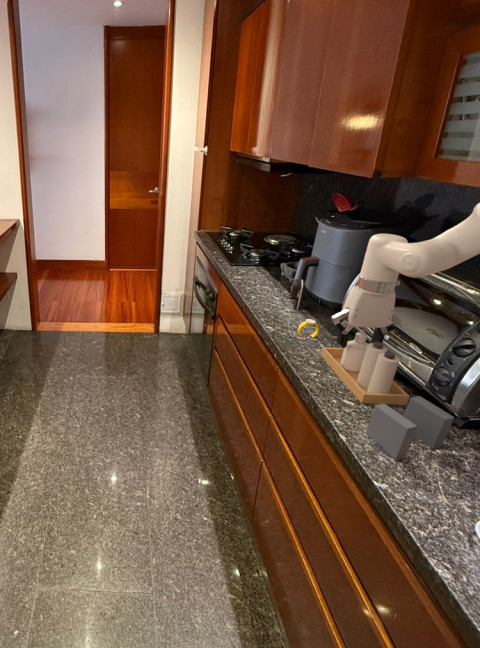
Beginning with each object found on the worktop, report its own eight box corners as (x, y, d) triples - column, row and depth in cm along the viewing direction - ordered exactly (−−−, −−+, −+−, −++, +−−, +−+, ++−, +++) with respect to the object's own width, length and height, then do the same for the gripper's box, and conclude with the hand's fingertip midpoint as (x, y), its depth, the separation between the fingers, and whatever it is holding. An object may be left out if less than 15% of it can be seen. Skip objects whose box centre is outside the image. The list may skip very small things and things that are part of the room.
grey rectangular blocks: (408, 425, 86) (419, 395, 83) (441, 448, 80) (454, 417, 76) (364, 435, 83) (374, 405, 80) (395, 460, 77) (407, 428, 74)
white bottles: (353, 379, 100) (365, 339, 96) (369, 380, 100) (382, 339, 96) (372, 400, 93) (386, 357, 88) (390, 401, 92) (405, 358, 88)
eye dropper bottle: (362, 376, 102) (374, 336, 97) (338, 368, 105) (348, 329, 101) (365, 369, 105) (377, 330, 100) (341, 361, 108) (352, 323, 104)
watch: (298, 339, 121) (302, 322, 118) (294, 335, 123) (298, 318, 121) (318, 340, 120) (322, 323, 118) (314, 335, 123) (318, 318, 121)
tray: (320, 356, 112) (322, 347, 110) (356, 358, 111) (359, 348, 110) (360, 405, 92) (364, 394, 91) (405, 407, 91) (409, 396, 90)
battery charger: (287, 305, 144) (292, 276, 140) (298, 307, 142) (304, 278, 138) (287, 313, 138) (293, 283, 134) (298, 315, 137) (305, 285, 132)
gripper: (402, 279, 98) (383, 339, 105) (332, 278, 100) (317, 337, 106) (423, 291, 91) (401, 354, 98) (347, 289, 93) (330, 352, 99)
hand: (358, 345), depth 102 cm, fingers open, 8 cm apart
